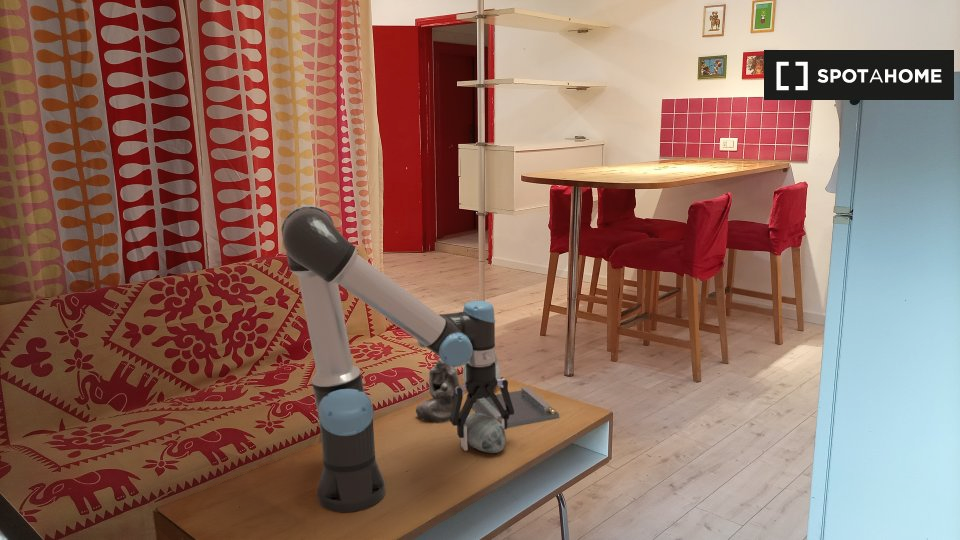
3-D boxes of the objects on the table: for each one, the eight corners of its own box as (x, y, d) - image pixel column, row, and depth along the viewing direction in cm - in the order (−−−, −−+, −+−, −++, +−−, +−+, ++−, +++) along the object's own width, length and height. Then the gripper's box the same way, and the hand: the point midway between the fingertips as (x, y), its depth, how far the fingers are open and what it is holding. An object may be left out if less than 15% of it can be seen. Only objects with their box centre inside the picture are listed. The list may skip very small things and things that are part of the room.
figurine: (416, 424, 201) (413, 363, 197) (415, 407, 212) (413, 349, 208) (463, 421, 202) (461, 360, 198) (460, 405, 213) (458, 347, 209)
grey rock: (519, 439, 183) (498, 408, 180) (493, 465, 179) (471, 434, 177) (493, 431, 195) (474, 403, 193) (468, 455, 191) (448, 426, 189)
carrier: (492, 430, 196) (492, 420, 195) (467, 403, 214) (467, 394, 213) (559, 417, 203) (559, 407, 202) (529, 392, 221) (529, 383, 220)
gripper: (443, 374, 174) (446, 459, 179) (527, 360, 182) (528, 442, 187) (434, 364, 181) (437, 446, 186) (515, 351, 189) (516, 430, 194)
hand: (483, 444), depth 186 cm, fingers closed on grey rock, 9 cm apart
